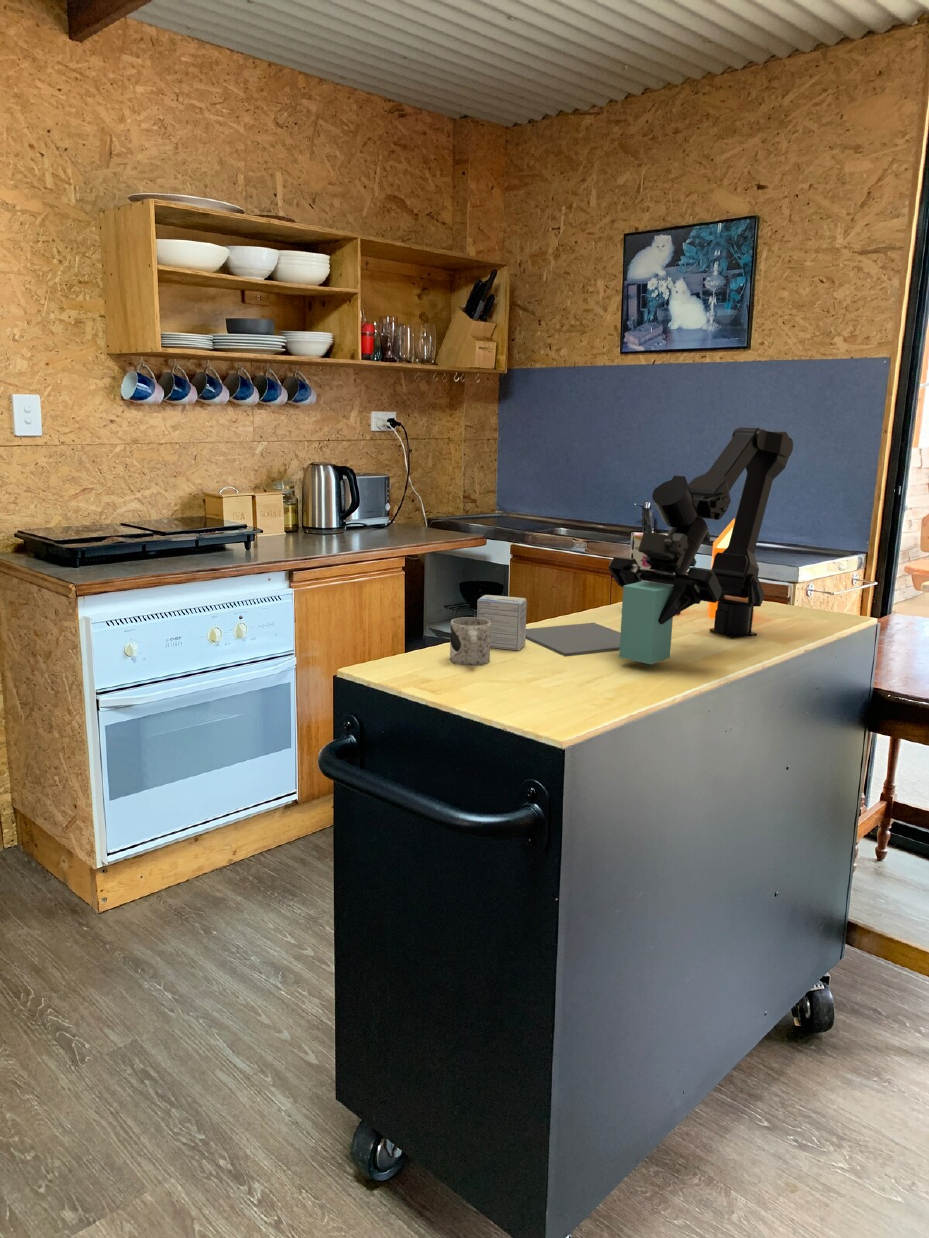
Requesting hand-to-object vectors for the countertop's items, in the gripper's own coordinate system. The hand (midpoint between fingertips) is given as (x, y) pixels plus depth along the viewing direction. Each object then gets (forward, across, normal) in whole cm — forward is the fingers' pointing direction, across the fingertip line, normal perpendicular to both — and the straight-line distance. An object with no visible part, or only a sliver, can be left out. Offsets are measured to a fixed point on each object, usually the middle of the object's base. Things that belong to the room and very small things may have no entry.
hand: (642, 619), depth 151 cm
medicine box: (+10, -24, +2) cm, 27 cm away
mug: (+19, -21, -7) cm, 29 cm away
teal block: (+4, 0, +6) cm, 7 cm away
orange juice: (-28, -9, +41) cm, 51 cm away
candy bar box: (-22, -21, +34) cm, 46 cm away
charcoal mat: (0, -18, +12) cm, 21 cm away
